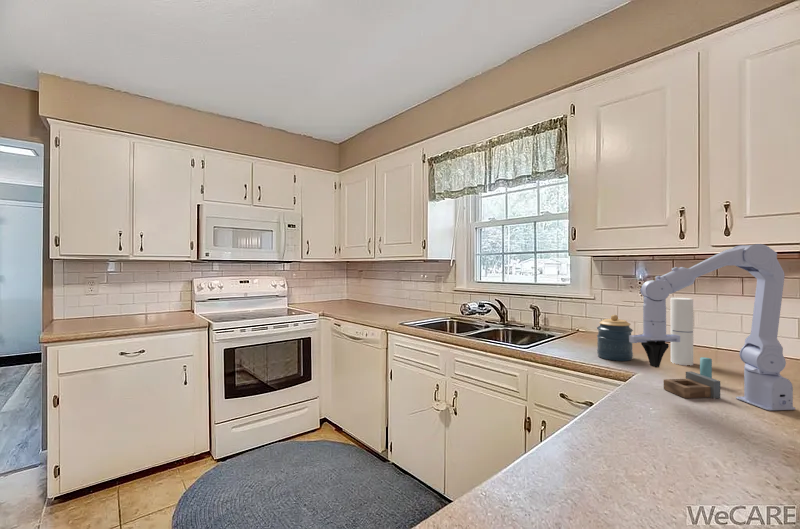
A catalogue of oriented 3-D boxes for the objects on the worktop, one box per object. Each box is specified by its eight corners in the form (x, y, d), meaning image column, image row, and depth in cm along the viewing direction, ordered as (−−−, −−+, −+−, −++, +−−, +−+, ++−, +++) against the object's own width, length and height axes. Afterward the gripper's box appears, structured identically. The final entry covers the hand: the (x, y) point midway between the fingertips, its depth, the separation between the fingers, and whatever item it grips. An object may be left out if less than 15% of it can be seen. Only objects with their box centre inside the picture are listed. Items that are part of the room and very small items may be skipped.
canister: (640, 359, 157) (640, 315, 157) (618, 362, 151) (618, 317, 151) (611, 352, 168) (610, 311, 168) (589, 355, 163) (589, 313, 163)
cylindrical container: (683, 366, 146) (683, 299, 146) (666, 361, 153) (665, 298, 153) (698, 364, 148) (697, 299, 148) (680, 360, 155) (679, 297, 155)
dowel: (714, 384, 124) (714, 359, 124) (705, 384, 124) (705, 359, 124) (706, 381, 127) (706, 357, 127) (697, 381, 127) (697, 357, 127)
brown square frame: (710, 397, 112) (710, 386, 112) (684, 398, 112) (684, 387, 112) (688, 388, 120) (688, 378, 120) (663, 389, 120) (663, 379, 120)
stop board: (720, 398, 111) (720, 381, 111) (713, 398, 111) (713, 381, 111) (691, 387, 121) (691, 371, 121) (685, 387, 121) (685, 371, 121)
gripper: (667, 318, 120) (667, 362, 120) (622, 319, 119) (622, 363, 119) (685, 321, 113) (686, 368, 113) (638, 322, 112) (638, 370, 112)
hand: (654, 366), depth 115 cm, fingers closed
